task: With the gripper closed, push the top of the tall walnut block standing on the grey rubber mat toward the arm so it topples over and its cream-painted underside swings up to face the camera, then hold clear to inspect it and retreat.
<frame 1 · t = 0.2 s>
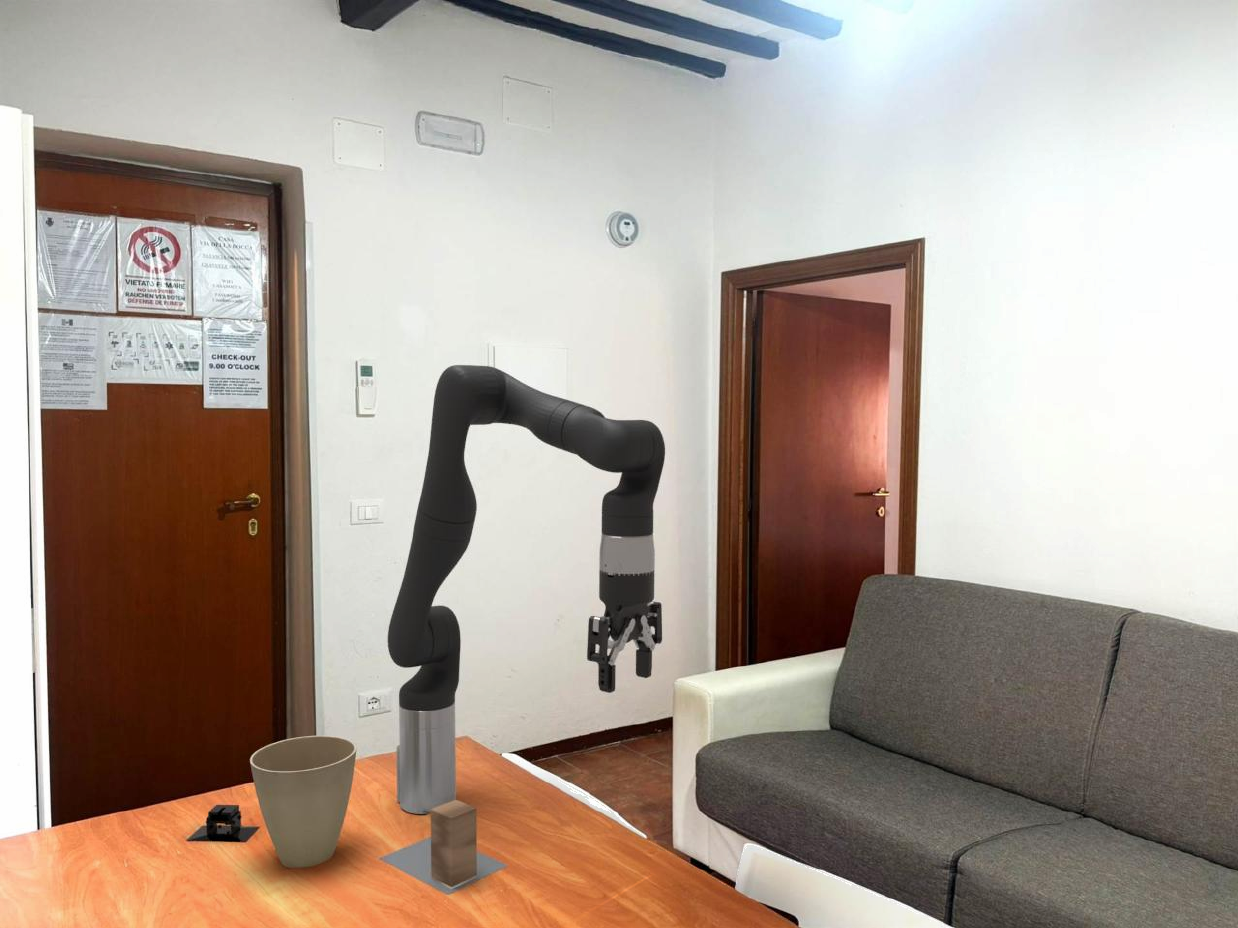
hand: (625, 683, 130), 29 cm above the table, fingers open, 8 cm apart
plant pot: (305, 858, 141), on the table
slotted block on plate: (224, 837, 149), on the table
walnut block: (454, 877, 134), resting on rubber mat
rubber mat: (442, 864, 139), on the table
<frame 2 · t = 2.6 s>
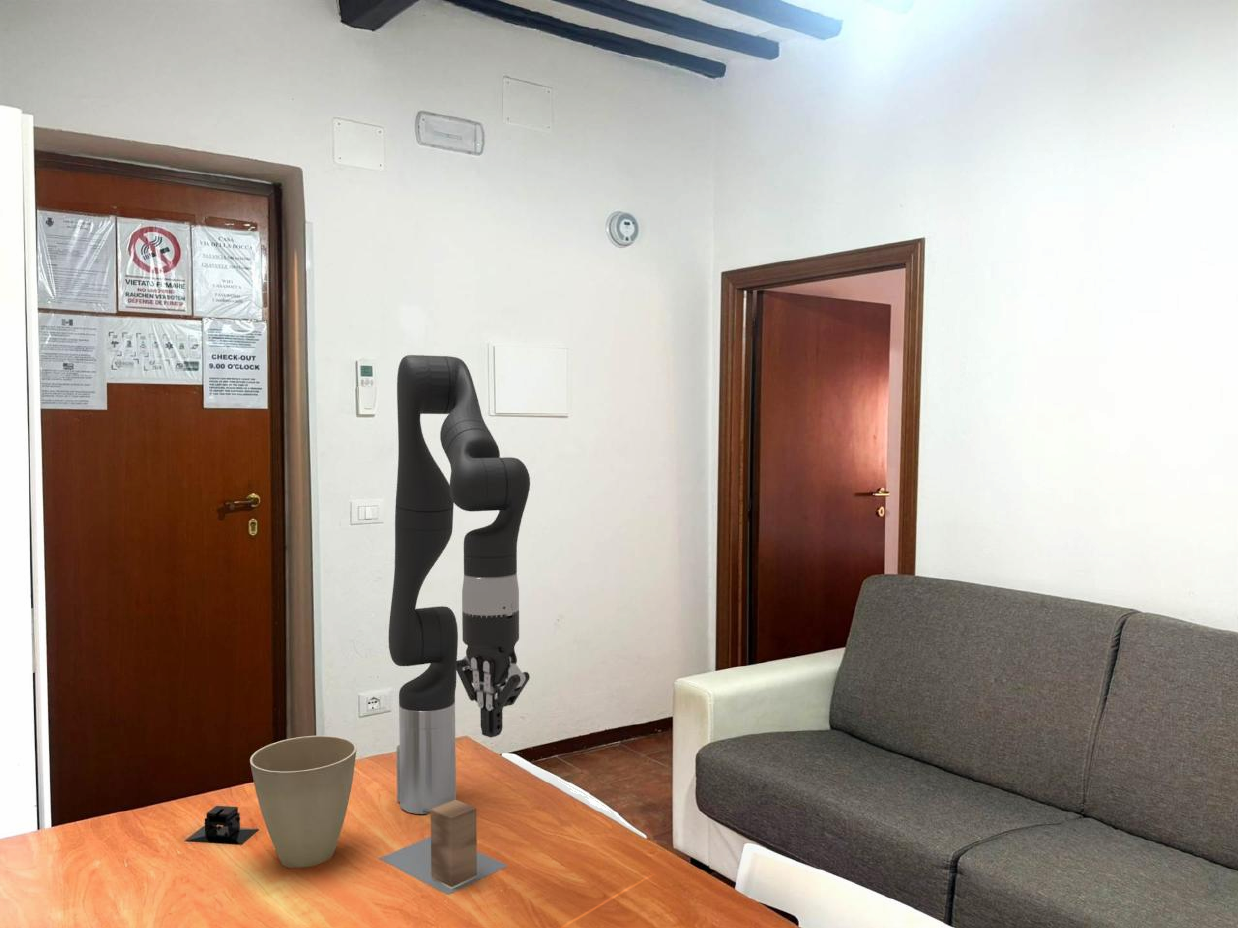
hand: (491, 734, 128), 23 cm above the table, fingers closed
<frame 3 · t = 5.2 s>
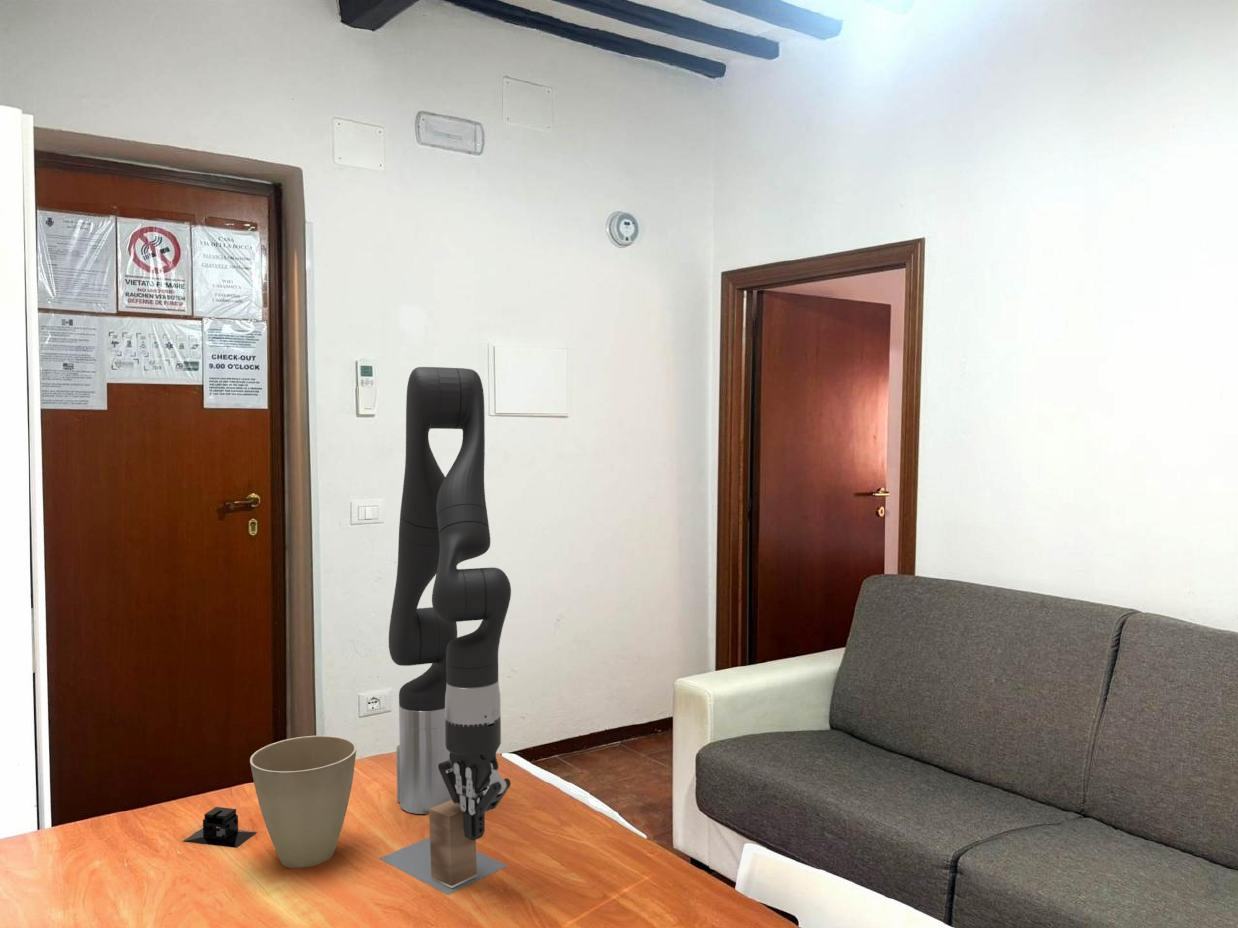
hand: (474, 837, 131), 8 cm above the table, fingers closed
walnut block: (454, 877, 134), resting on rubber mat, touching gripper
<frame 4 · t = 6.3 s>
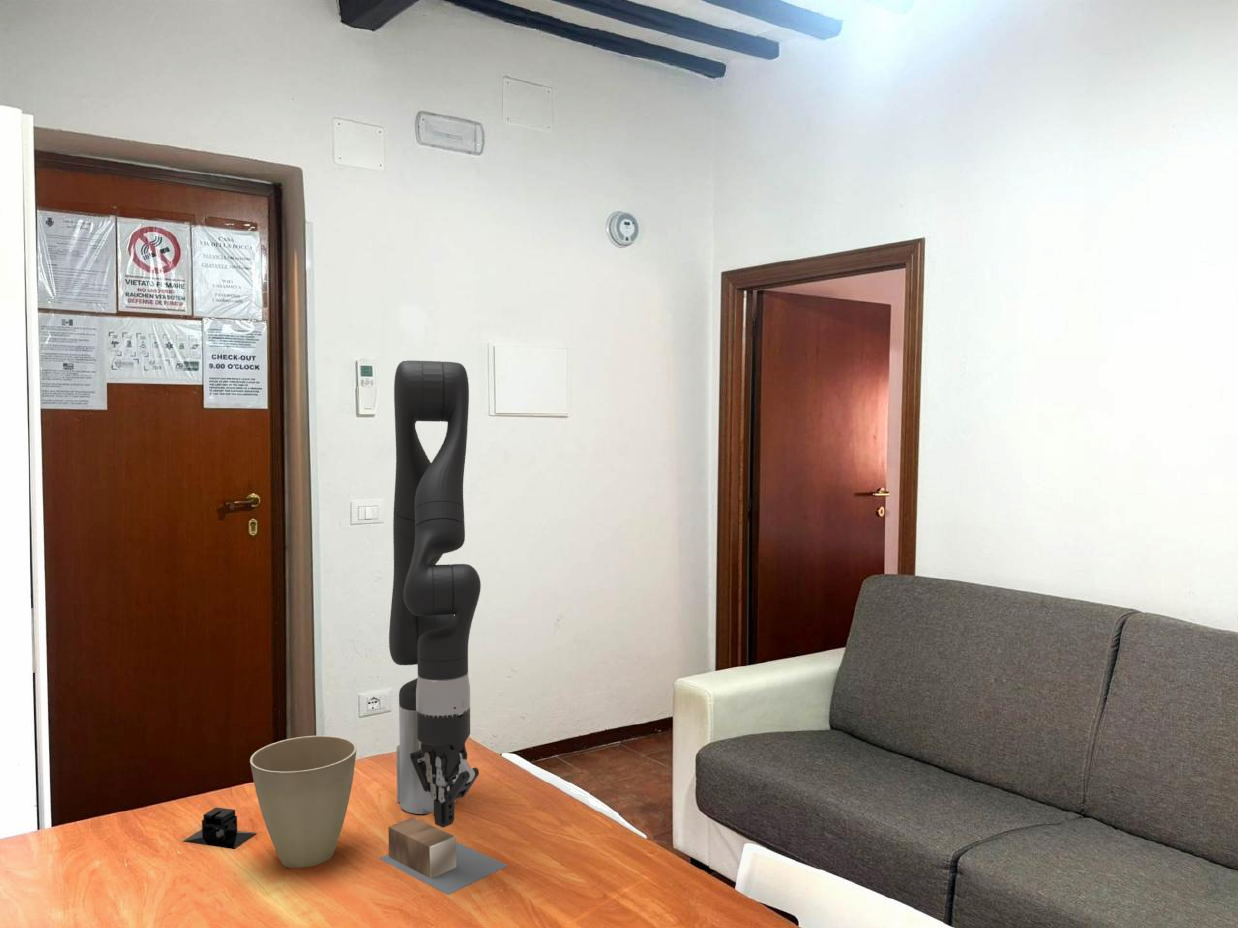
hand: (444, 824, 135), 7 cm above the table, fingers closed
walnut block: (443, 857, 135), point 3 cm above the table, tilted 90°, touching rubber mat
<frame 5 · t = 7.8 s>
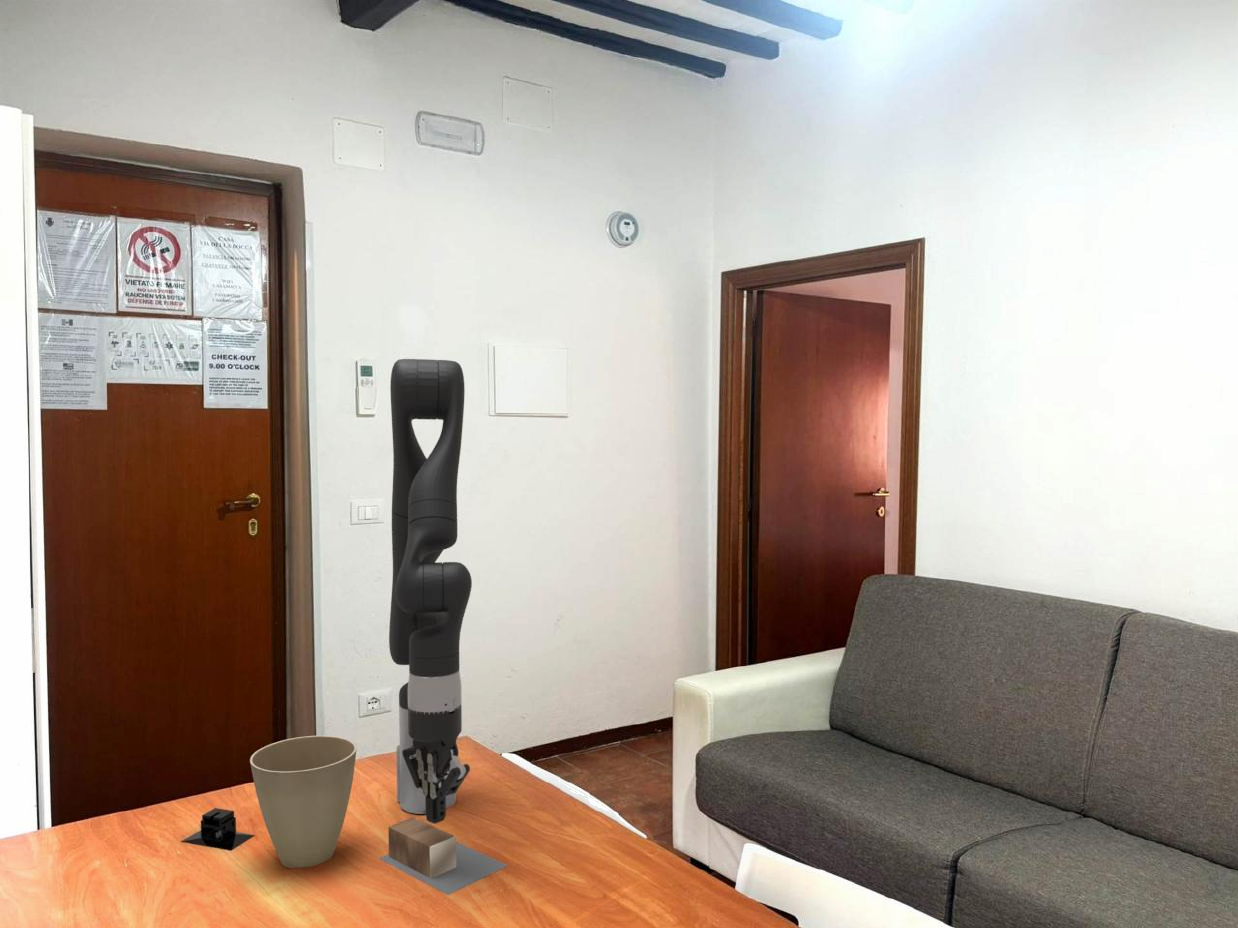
hand: (435, 820, 136), 8 cm above the table, fingers closed
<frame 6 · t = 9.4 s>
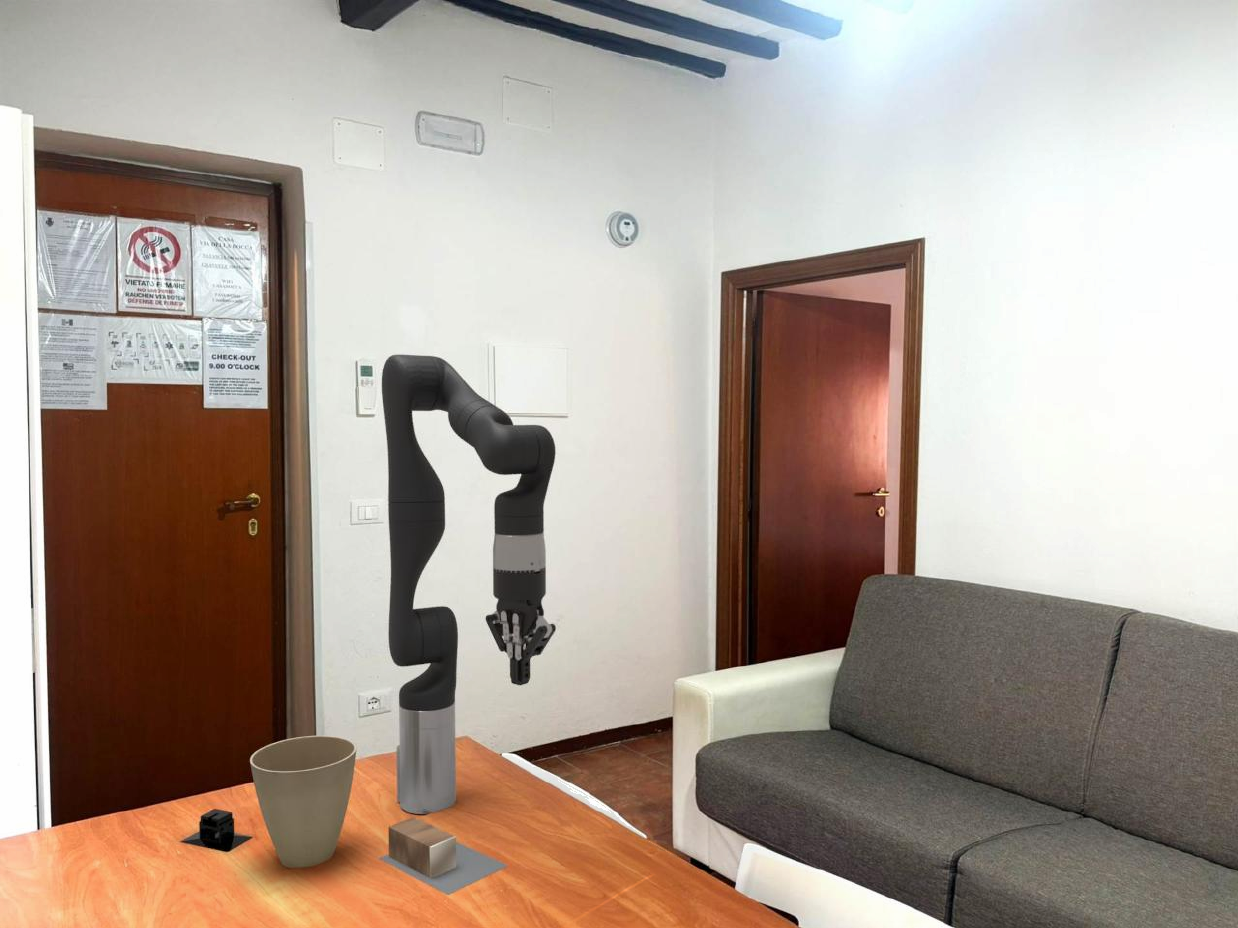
hand: (520, 683, 137), 27 cm above the table, fingers closed
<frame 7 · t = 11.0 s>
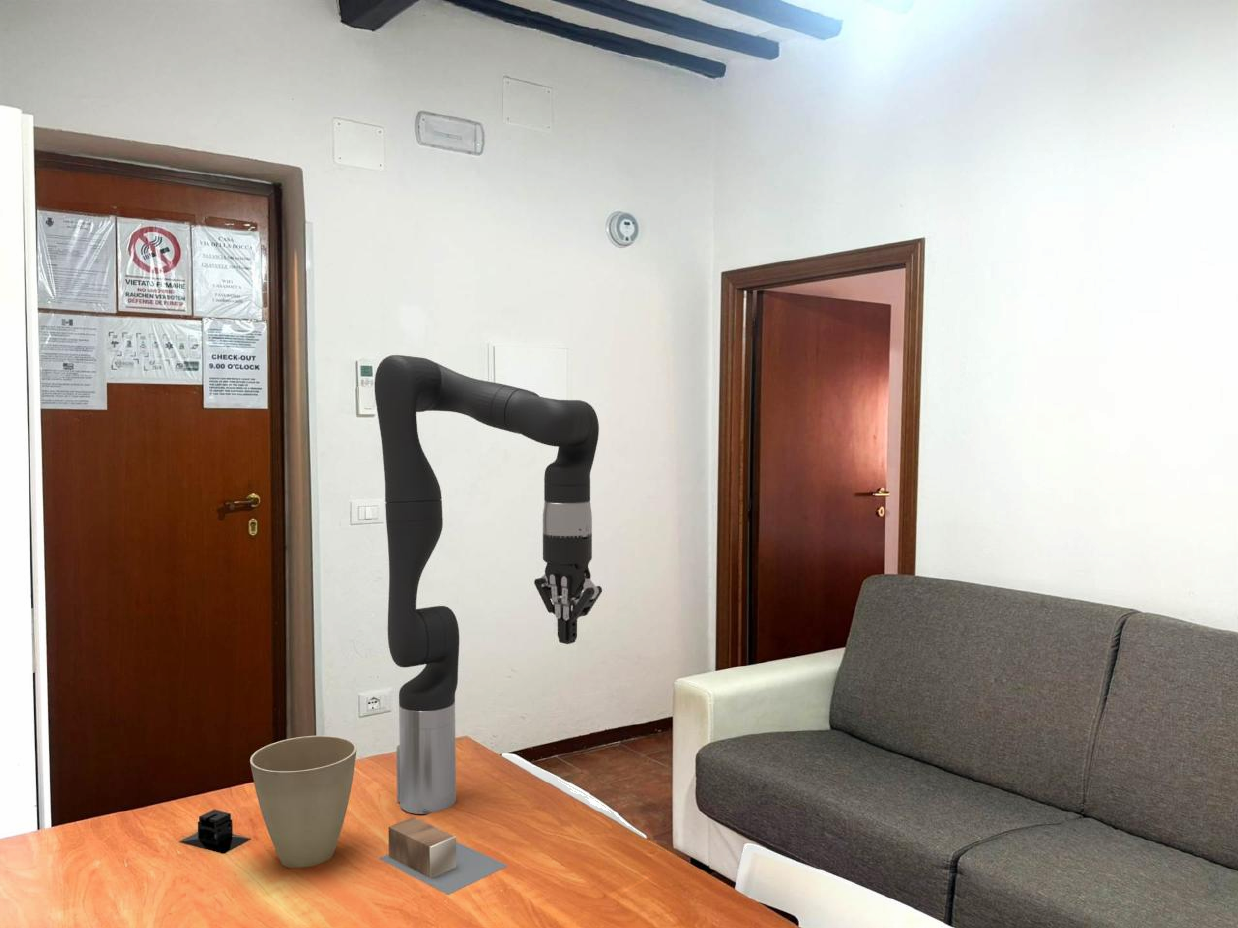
hand: (567, 642, 146), 31 cm above the table, fingers closed
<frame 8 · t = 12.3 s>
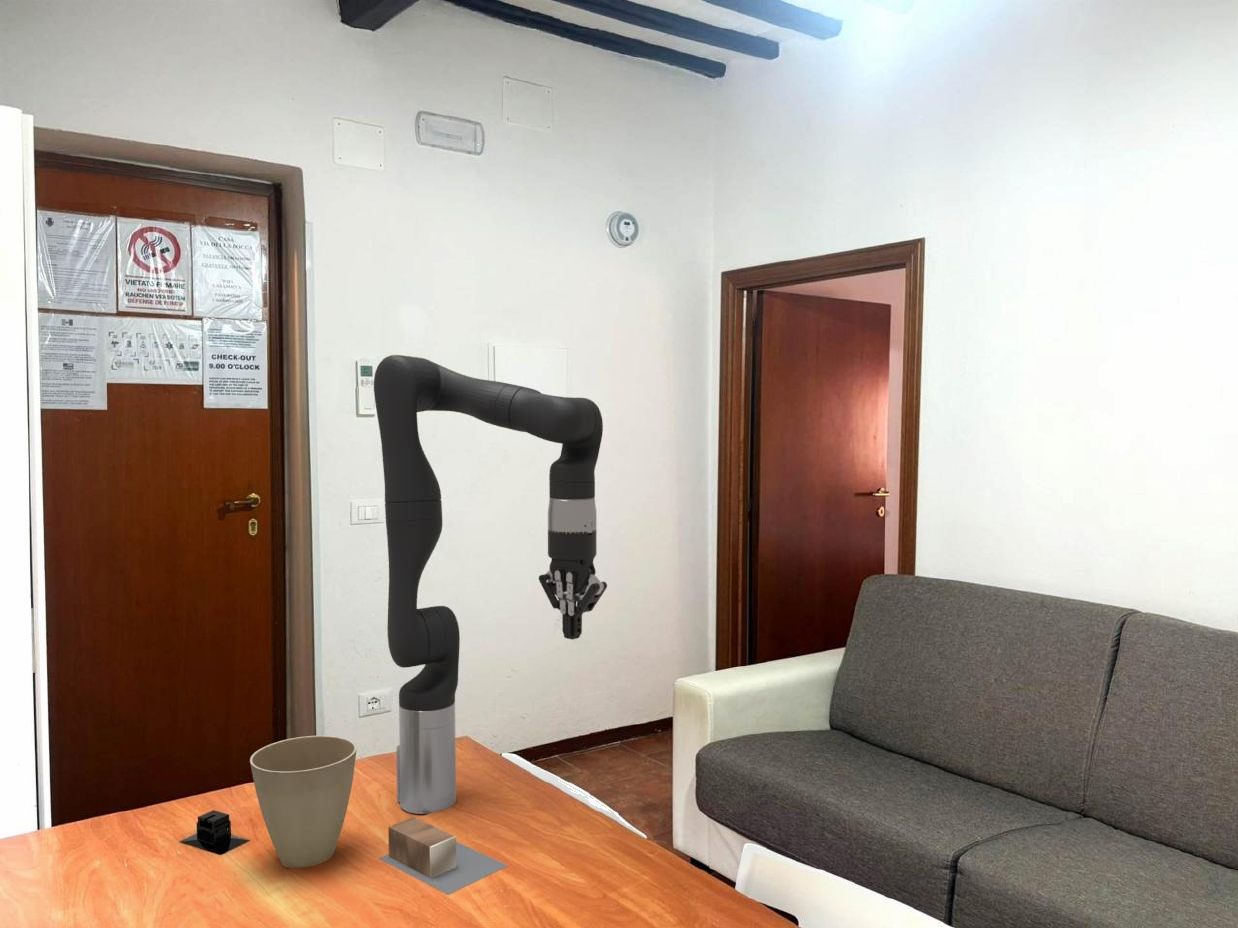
hand: (572, 637, 148), 31 cm above the table, fingers closed
at the end: walnut block tilted 90°; walnut block inside the target area (1.8 cm from its centre), point 2.6 cm above the table; the gripper is holding nothing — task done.
